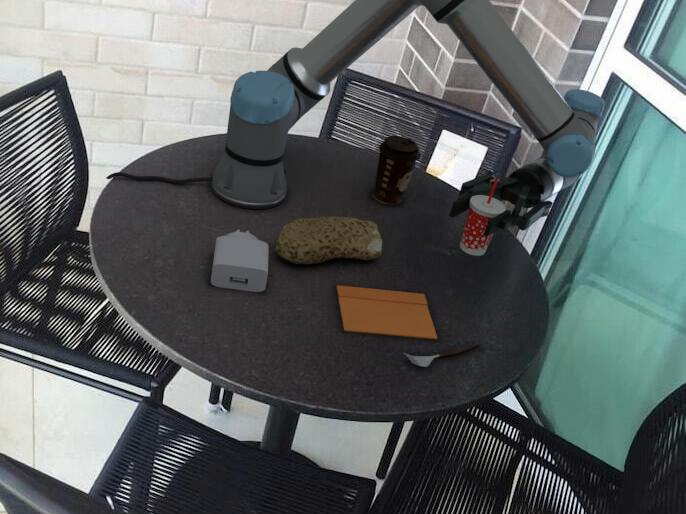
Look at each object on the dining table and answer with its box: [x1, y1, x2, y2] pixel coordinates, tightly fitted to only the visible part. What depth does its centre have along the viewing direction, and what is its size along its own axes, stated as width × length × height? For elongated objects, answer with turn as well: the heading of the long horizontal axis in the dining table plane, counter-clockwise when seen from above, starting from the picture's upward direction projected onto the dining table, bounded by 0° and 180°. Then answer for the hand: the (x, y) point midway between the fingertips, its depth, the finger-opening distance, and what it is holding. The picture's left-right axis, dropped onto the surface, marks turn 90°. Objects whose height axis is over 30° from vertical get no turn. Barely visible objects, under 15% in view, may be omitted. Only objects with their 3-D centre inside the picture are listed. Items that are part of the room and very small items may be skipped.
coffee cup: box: [371, 135, 422, 206], centre depth 170 cm, size 9×8×13 cm
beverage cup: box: [459, 176, 507, 257], centre depth 138 cm, size 6×6×14 cm
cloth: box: [336, 284, 438, 340], centre depth 139 cm, size 16×12×1 cm
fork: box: [402, 343, 482, 368], centre depth 132 cm, size 3×16×2 cm, turn 120°
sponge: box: [275, 215, 383, 265], centre depth 149 cm, size 13×8×20 cm
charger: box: [210, 228, 270, 293], centre depth 142 cm, size 5×9×15 cm
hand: (470, 219), depth 134 cm, fingers closed on beverage cup, 6 cm apart
